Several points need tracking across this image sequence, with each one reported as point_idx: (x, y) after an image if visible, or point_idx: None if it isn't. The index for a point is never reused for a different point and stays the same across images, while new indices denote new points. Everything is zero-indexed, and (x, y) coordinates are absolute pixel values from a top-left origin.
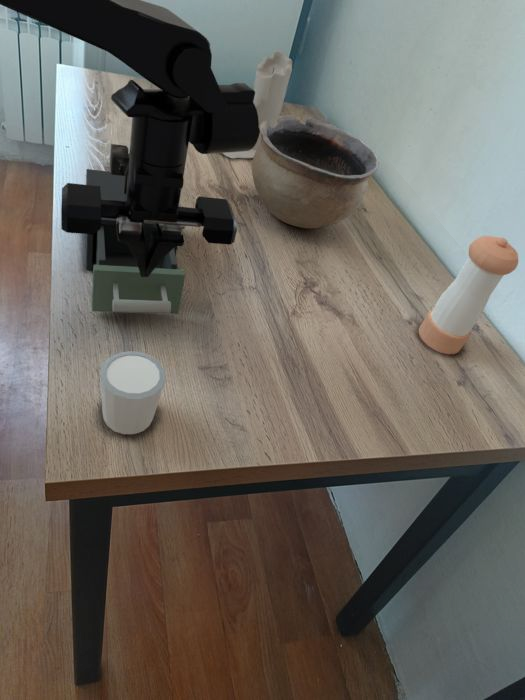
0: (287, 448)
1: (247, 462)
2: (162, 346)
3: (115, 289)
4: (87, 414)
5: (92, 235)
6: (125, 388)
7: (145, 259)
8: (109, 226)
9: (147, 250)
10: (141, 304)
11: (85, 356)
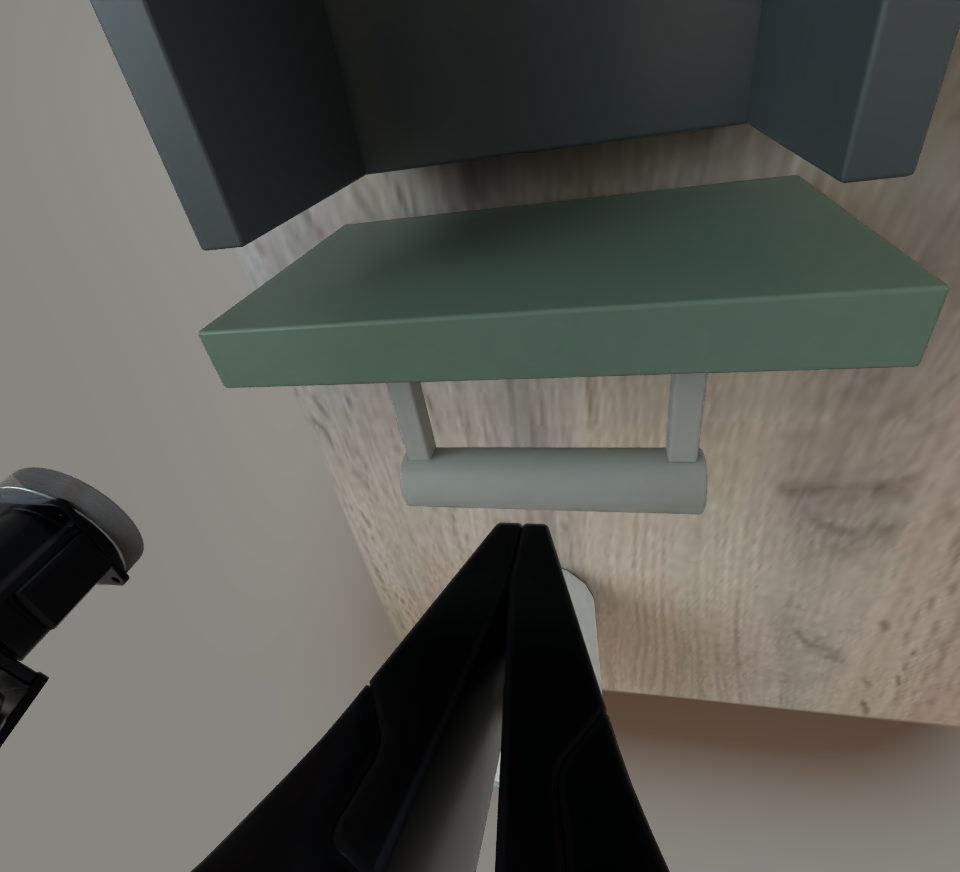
0: (938, 704)
1: (800, 708)
2: (658, 398)
3: (397, 395)
4: (443, 589)
5: None
6: (496, 774)
7: (482, 831)
8: None
9: (504, 677)
10: (539, 509)
11: (397, 443)
